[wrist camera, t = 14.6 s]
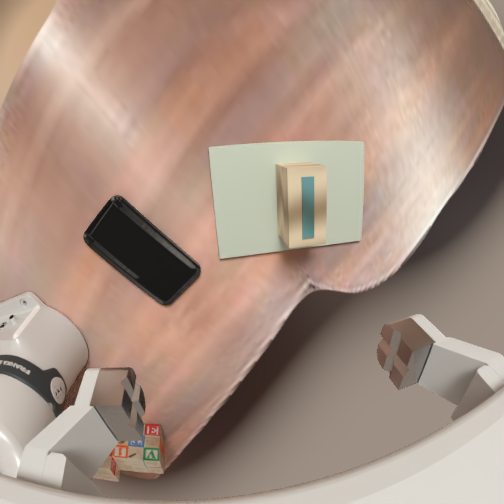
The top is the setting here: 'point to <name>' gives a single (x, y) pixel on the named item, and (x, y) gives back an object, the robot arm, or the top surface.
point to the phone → (141, 251)
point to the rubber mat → (265, 197)
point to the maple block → (301, 203)
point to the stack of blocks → (135, 455)
